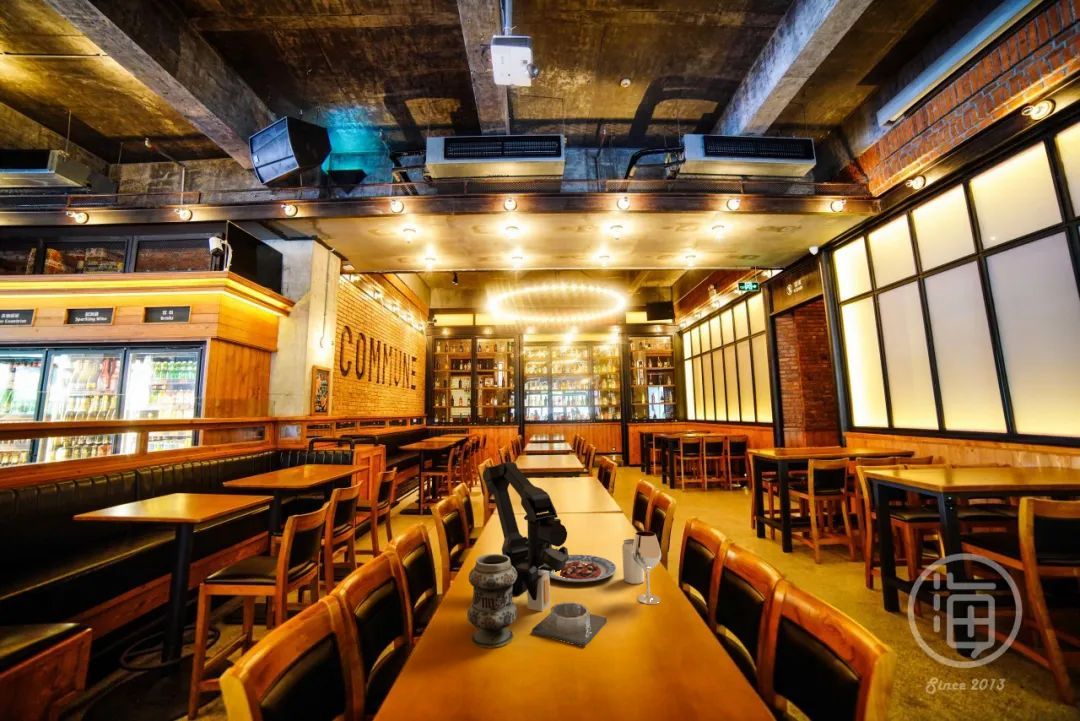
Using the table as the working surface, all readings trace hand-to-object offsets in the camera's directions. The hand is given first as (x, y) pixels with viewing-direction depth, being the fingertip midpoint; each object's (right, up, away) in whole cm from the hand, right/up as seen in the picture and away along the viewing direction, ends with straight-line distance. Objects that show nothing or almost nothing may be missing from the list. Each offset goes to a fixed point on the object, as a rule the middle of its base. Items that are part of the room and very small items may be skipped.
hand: (538, 596), depth 119 cm
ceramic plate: (+13, -6, +25) cm, 29 cm away
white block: (0, -3, 0) cm, 3 cm away
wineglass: (+32, -3, +3) cm, 32 cm away
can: (+30, -5, +17) cm, 35 cm away
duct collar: (+8, -1, -13) cm, 15 cm away
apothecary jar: (-11, -1, -17) cm, 20 cm away
